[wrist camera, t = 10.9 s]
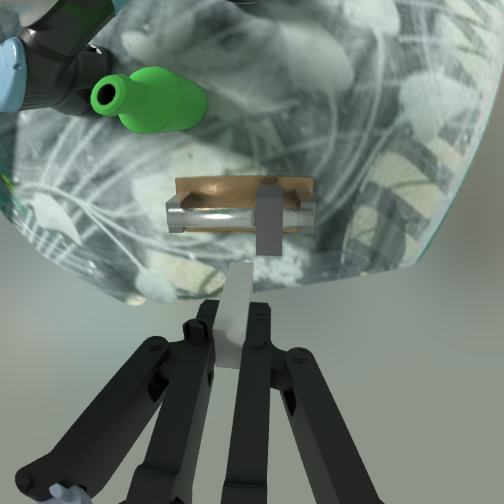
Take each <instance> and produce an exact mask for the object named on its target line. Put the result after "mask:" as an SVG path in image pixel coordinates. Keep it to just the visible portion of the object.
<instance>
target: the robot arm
mask: <svg viewBox="0 0 504 504" xmlns="http://www.w3.org/2000/svg"><path fill="white" fill-rule="evenodd" d="M130 1H131V0H0V9H4V10H8V11H12V12H15V13H19V19H20V24H21V26H23V27H25V29H24V30H23V31H22V33H21V34H20V36H19V37H18V38H17V37H12V38H10V39H7V40H6V41H5V42H3V43H2V44H1V45H0V112H9V111H10V112H16V111H22V110H29V109H38V108H47V107H51V108H53V109H55V110H57V111H59V112H61V113H64V114H68V115H75V114H82V113H85V112H87V111H89V110H90V109H92V108H93V107H92V105H91V94H92V90H93V89H94V87H95V85H96V84H97V83H98V82H99V81H100V80H101V79H102V78H104V77H106V76H109V75H112V62H111V59H110V56H109V54H108V53H107V52H106V50H104V49H103V48H101V47H99V46H96V45H92V44H88V43H89V42H90V41H91V40H92V39H93V38H94V36H95V35H96V34H97V33H98V32H99V31H100V30H101V29H102V28H103V27H104V26H105V25H106V24H107V23H108V22H109V21H110V20H111V19H112V18H113V17H116V16H117V15H118V12H120V11H121V10H122V9H123V8H124V7H125V6H126V5H127V4H128V3H129V2H130ZM253 267H254V263H245V262H230V266H229V269H228V273H227V277H226V280H225V284H224V288H223V291H222V295H221V299H220V300H208V299H206V300H205V301H204V302H203V303H202V304H201V305H200V308H199V311H198V313H197V316H196V319H191V320H188V321H187V322H185V323H184V324H183V333H184V340H181V341H177V342H169V343H168V341H167V340H166V339H165V338H163V337H161V336H152V337H149V338H147V339H146V340H145V341H144V342H143V343H142V344H141V345H140V346H139V348H138V349H137V350H136V351H135V352H134V353H133V355H132V356H131V357H130V358H129V359H128V360H127V361H126V363H125V364H124V365H123V366H122V367H121V368H120V369H119V371H118V372H117V373H116V374H115V375H114V376H113V378H112V379H111V380H110V381H109V382H108V383H107V385H106V386H105V387H104V388H103V389H102V391H101V392H100V393H99V394H98V395H97V396H96V398H95V399H94V400H93V401H92V402H91V403H90V405H89V406H88V407H87V408H86V409H85V411H84V412H83V413H82V414H81V415H80V417H79V418H78V419H77V420H76V422H75V423H74V424H73V425H72V426H71V427H70V429H69V430H68V431H67V433H66V434H65V435H64V436H63V437H62V439H61V440H60V441H59V442H58V443H57V445H56V446H55V447H54V449H53V450H52V451H51V452H50V453H48V454H47V455H44V456H43V457H41V458H39V459H37V460H35V461H34V462H32V463H30V464H28V465H26V466H25V467H22V468H21V469H19V470H18V471H17V473H16V475H15V482H16V486H17V487H18V489H19V490H20V492H22V493H23V494H24V495H26V496H28V497H30V498H32V499H33V500H35V501H36V502H37V504H92V501H91V499H92V498H93V497H94V496H96V495H97V494H98V493H99V492H100V491H101V490H102V489H103V487H104V486H105V485H106V484H107V482H108V481H109V480H110V478H111V476H112V475H113V473H114V472H115V470H116V469H117V468H118V466H119V465H120V463H121V462H122V461H123V459H124V458H125V456H126V455H127V453H128V452H129V450H130V449H131V447H132V446H133V444H134V443H135V441H136V440H137V438H138V437H139V436H140V434H141V433H142V431H143V429H144V428H145V427H146V425H147V424H148V422H149V421H150V419H151V418H152V416H153V415H154V413H155V411H156V410H157V409H158V407H159V406H160V404H161V403H162V405H161V408H160V411H159V414H158V418H157V421H156V424H155V427H154V430H153V433H152V436H151V440H150V443H149V446H148V449H147V453H146V456H145V459H144V462H143V463H142V464H141V465H139V466H137V468H136V470H135V472H134V475H133V478H132V481H131V485H130V488H129V491H128V495H127V499H126V500H125V501H122V502H121V503H119V504H192V485H193V480H194V475H195V469H196V464H197V459H198V454H199V449H200V443H201V438H202V433H203V428H204V423H205V418H206V413H207V408H208V403H209V398H210V393H211V388H212V384H213V379H214V365H216V367H222V368H233V369H240V372H239V380H238V387H237V396H236V403H235V410H234V418H233V426H232V433H231V441H230V449H229V456H228V463H227V471H226V478H225V481H224V485H223V490H222V497H221V504H267V464H268V440H269V411H270V388H274V389H277V390H280V394H281V397H282V400H283V403H284V407H285V410H286V413H287V416H288V419H289V422H290V425H291V428H292V431H293V434H294V437H295V441H296V443H297V447H298V450H299V453H300V456H301V459H302V462H303V465H304V468H305V471H306V474H307V477H308V480H309V483H310V486H311V488H312V492H313V495H314V497H315V500H316V503H317V504H384V503H383V502H382V501H381V500H380V499H379V497H378V495H377V493H376V490H375V488H374V486H373V484H372V481H371V480H370V477H369V475H368V473H367V471H366V468H365V466H364V464H363V462H362V459H361V457H360V455H359V453H358V451H357V449H356V446H355V444H354V442H353V440H352V437H351V435H350V433H349V431H348V429H347V427H346V424H345V422H344V420H343V418H342V416H341V414H340V412H339V410H338V407H337V405H336V403H335V401H334V399H333V396H332V394H331V392H330V390H329V388H328V386H327V384H326V381H325V379H324V377H323V375H322V373H321V371H320V369H319V367H318V364H317V362H316V360H315V358H314V356H313V354H312V353H311V352H310V351H309V350H307V349H305V348H301V347H296V348H292V349H290V350H289V351H283V350H280V349H278V348H276V347H275V346H274V345H273V344H272V342H271V338H270V337H271V308H270V307H269V305H268V303H258V302H252V292H253ZM162 401H163V402H162Z"/></svg>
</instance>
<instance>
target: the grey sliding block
mask: <svg viewBox="0 0 504 504" xmlns="http://www.w3.org/2000/svg"><path fill="white" fill-rule="evenodd" d="M282 232H283V193H282V188H281V185H264V184H258V188H257V194H256V255H265V256H282Z"/></svg>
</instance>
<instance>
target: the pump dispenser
mask: <svg viewBox="0 0 504 504" xmlns="http://www.w3.org/2000/svg"><path fill="white" fill-rule="evenodd" d="M227 1H230V2H233V3H236V4H252V3H256V2H259V1H261V0H227Z"/></svg>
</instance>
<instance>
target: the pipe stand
mask: <svg viewBox="0 0 504 504" xmlns="http://www.w3.org/2000/svg"><path fill="white" fill-rule="evenodd" d="M313 180H314V178H313V177H307V176H266V175H240V176H200V177H179V178H175V183H176V195H175V196H173V197H172V198H171V199H170V200H169V201H167V202H166V212H167V224H168V228H169V233H183V232H184V231H256V194H257V188H258V184H264V185H281V188H282V193H283V232H299V234H314V233H315V220H316V206H317V203H316V201H315V199H314V198H313Z"/></svg>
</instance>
